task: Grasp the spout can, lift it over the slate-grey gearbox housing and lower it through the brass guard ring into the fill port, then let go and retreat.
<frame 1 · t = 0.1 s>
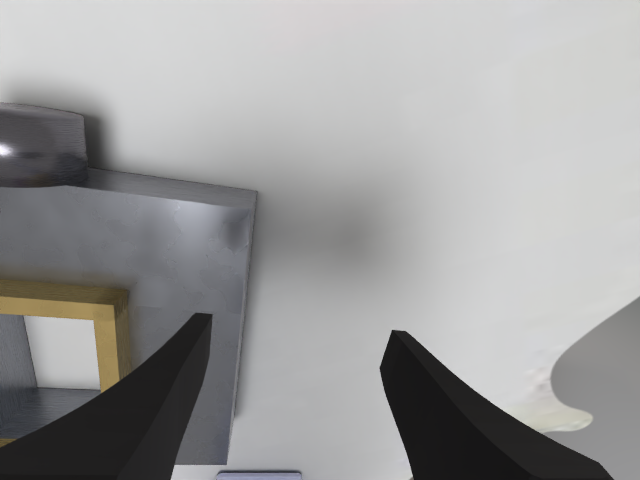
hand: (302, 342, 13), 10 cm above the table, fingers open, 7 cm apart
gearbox: (84, 332, 23), on the table
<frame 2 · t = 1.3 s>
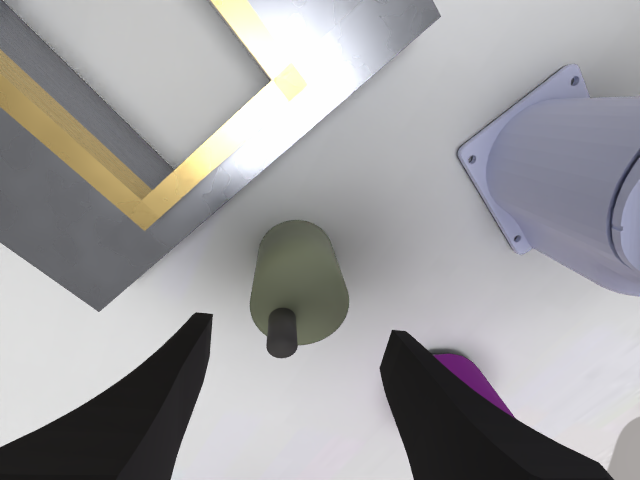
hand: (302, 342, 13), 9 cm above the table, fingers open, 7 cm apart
spout can: (296, 255, 22), on the table
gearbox: (147, 44, 16), on the table
beverage can: (431, 379, 28), on the table
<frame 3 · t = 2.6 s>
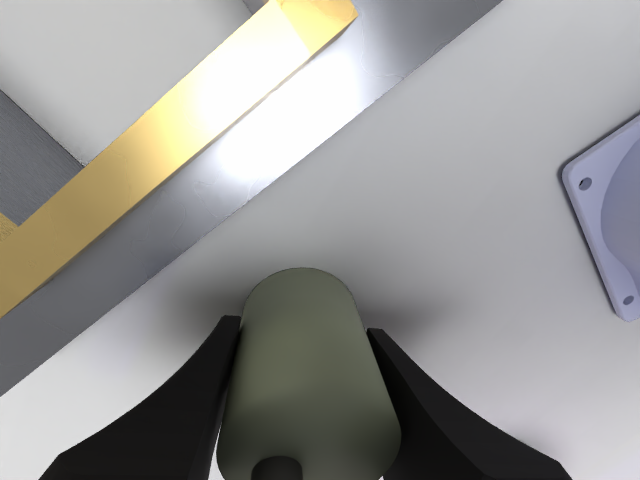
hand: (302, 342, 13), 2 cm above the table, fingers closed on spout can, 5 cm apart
spout can: (300, 317, 14), on the table, touching gripper
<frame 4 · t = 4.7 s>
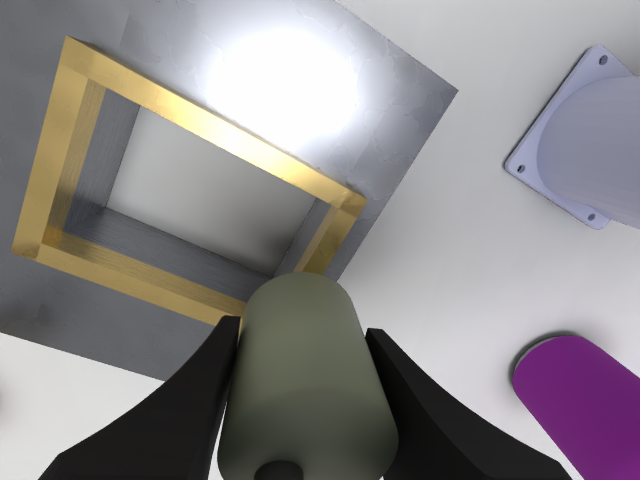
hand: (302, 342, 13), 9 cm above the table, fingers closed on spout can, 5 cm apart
spout can: (299, 321, 14), point 8 cm above the table, touching gripper
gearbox: (217, 194, 20), on the table
beverage can: (546, 362, 28), on the table
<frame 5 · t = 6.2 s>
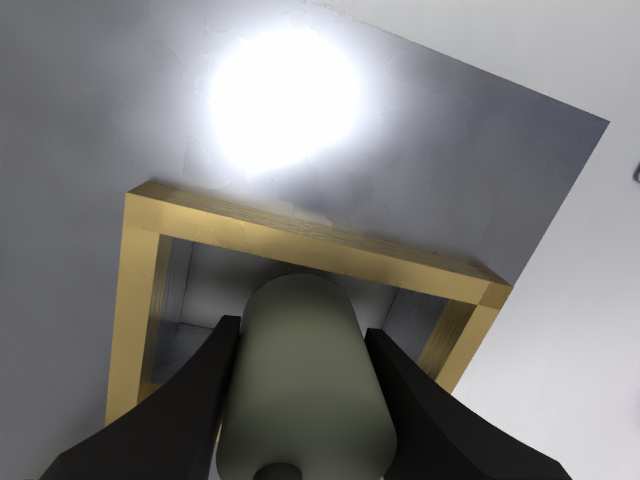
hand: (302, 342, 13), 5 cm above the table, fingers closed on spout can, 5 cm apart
spout can: (298, 322, 14), point 3 cm above the table, touching gripper
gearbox: (298, 284, 17), on the table
when the fingers open (3 cm above the table, at t = 7.0 s): spout can drops 2 cm, resting in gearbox.
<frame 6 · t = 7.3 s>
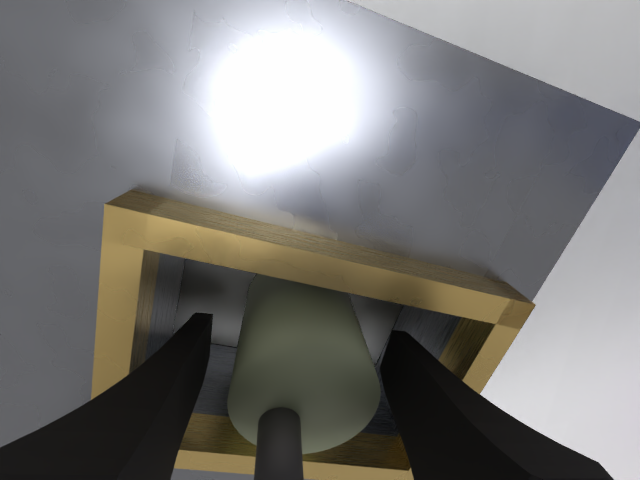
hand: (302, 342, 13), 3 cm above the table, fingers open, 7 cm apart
spout can: (297, 300, 16), resting in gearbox
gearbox: (298, 296, 16), on the table
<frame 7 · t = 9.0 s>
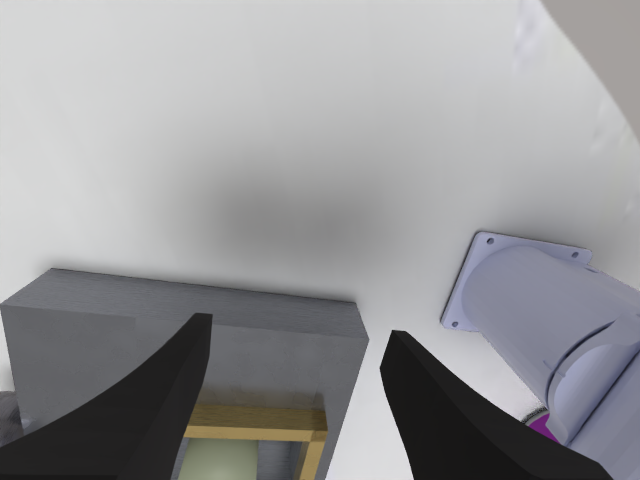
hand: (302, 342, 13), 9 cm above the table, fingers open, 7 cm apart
spout can: (230, 408, 26), resting in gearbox
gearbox: (229, 406, 26), on the table
beverage can: (545, 427, 32), on the table
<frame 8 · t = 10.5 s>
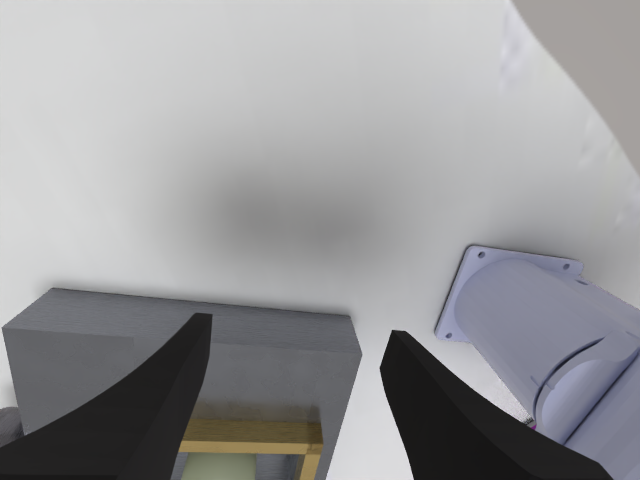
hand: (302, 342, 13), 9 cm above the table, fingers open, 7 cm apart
spout can: (229, 419, 27), resting in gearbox
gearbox: (228, 417, 27), on the table
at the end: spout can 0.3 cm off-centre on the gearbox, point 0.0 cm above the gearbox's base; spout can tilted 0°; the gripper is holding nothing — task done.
